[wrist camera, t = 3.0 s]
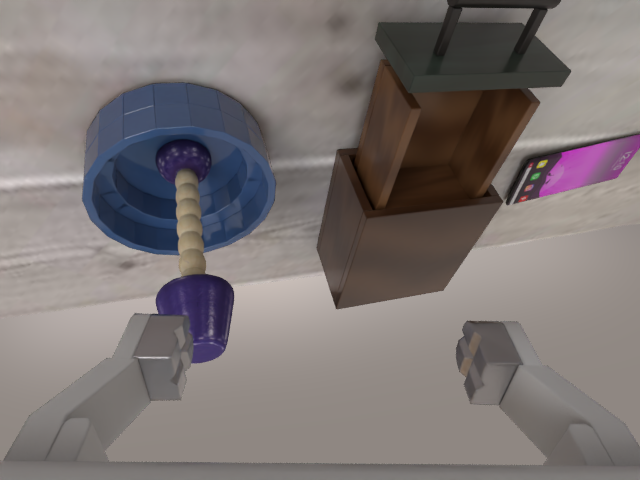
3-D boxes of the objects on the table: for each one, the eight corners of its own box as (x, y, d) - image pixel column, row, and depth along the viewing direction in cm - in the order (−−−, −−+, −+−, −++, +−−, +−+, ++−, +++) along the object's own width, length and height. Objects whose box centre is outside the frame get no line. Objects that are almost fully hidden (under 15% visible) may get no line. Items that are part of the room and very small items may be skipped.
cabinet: (337, 149, 39) (366, 218, 34) (461, 139, 42) (503, 201, 37) (316, 247, 50) (336, 309, 45) (415, 234, 53) (443, 290, 49)
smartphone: (524, 156, 46) (528, 162, 46) (646, 130, 48) (652, 135, 48) (502, 201, 52) (505, 207, 52) (612, 176, 54) (616, 181, 54)
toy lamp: (143, 174, 35) (152, 375, 25) (153, 128, 32) (167, 337, 22) (204, 182, 37) (232, 368, 28) (218, 140, 34) (256, 333, 25)
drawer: (395, -52, 26) (439, -1, 22) (554, -43, 29) (615, 2, 25) (343, 170, 40) (365, 223, 36) (453, 160, 43) (483, 208, 39)
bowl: (266, 76, 31) (280, 121, 28) (261, 202, 41) (271, 243, 39) (60, 83, 28) (53, 134, 25) (110, 218, 38) (109, 265, 35)
